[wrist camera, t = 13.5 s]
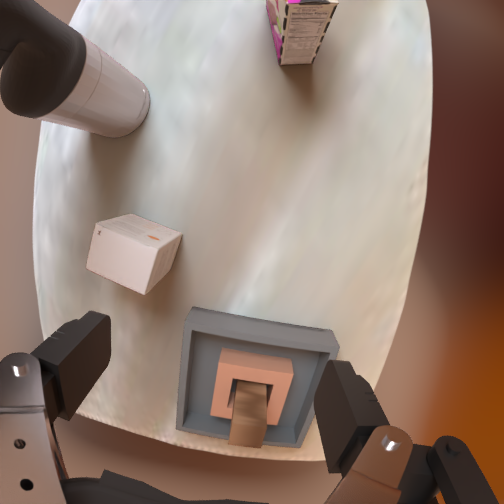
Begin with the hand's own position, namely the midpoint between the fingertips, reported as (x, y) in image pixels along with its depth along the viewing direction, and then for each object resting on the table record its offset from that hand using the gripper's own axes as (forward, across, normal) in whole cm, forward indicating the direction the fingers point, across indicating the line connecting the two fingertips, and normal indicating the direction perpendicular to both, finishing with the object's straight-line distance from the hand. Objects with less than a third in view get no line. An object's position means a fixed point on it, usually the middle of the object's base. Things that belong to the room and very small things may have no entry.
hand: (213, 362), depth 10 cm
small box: (+31, +12, +4) cm, 33 cm away
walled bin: (+30, -5, +22) cm, 37 cm away
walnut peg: (+29, -5, +22) cm, 36 cm away
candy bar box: (+31, -1, -28) cm, 42 cm away
